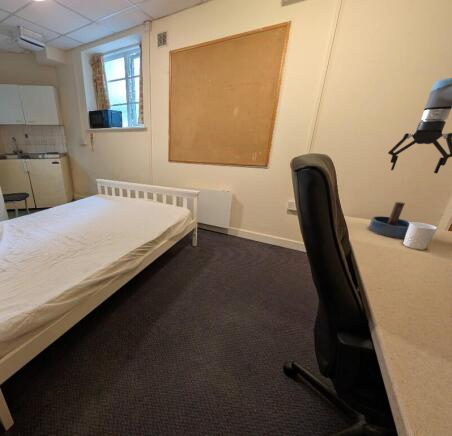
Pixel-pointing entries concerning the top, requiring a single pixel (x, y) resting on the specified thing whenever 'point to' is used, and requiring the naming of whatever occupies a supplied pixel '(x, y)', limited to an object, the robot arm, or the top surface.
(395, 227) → the bowl
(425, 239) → the white cup
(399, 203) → the wooden masher
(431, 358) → the top surface
